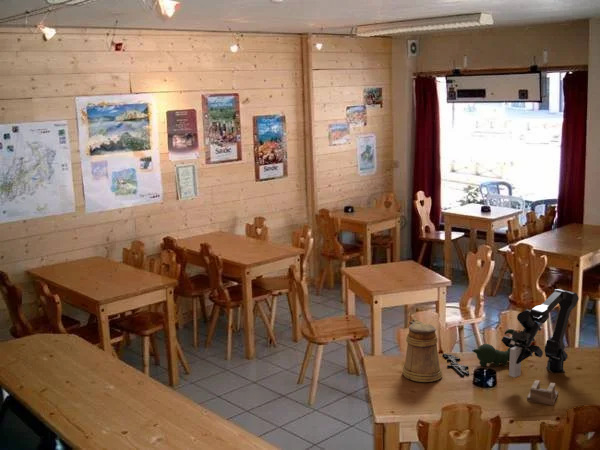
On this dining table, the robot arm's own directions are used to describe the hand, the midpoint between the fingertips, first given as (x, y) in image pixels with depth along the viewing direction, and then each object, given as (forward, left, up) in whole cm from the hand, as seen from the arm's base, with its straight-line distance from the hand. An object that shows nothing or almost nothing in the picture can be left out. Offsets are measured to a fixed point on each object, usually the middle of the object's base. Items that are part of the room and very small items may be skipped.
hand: (513, 362), depth 322 cm
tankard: (+35, -26, -14) cm, 46 cm away
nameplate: (+15, -32, -14) cm, 38 cm away
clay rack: (-10, +9, -13) cm, 19 cm away
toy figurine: (-5, -29, -14) cm, 33 cm away
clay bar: (-1, -1, -7) cm, 7 cm away
